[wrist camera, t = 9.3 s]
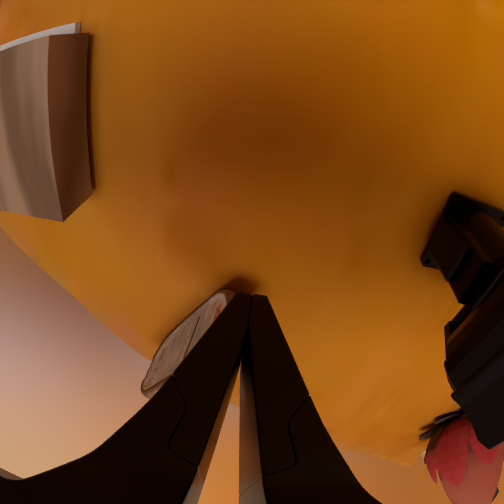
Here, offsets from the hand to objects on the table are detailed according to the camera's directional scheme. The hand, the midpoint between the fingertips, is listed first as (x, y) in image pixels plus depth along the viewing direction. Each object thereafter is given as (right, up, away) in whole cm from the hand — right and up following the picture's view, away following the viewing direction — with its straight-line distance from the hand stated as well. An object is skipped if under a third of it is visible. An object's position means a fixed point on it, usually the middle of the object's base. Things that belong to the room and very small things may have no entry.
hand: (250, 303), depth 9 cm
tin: (-5, -5, +20) cm, 21 cm away
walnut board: (-11, +9, +6) cm, 16 cm away
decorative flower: (+43, -32, +33) cm, 63 cm away
